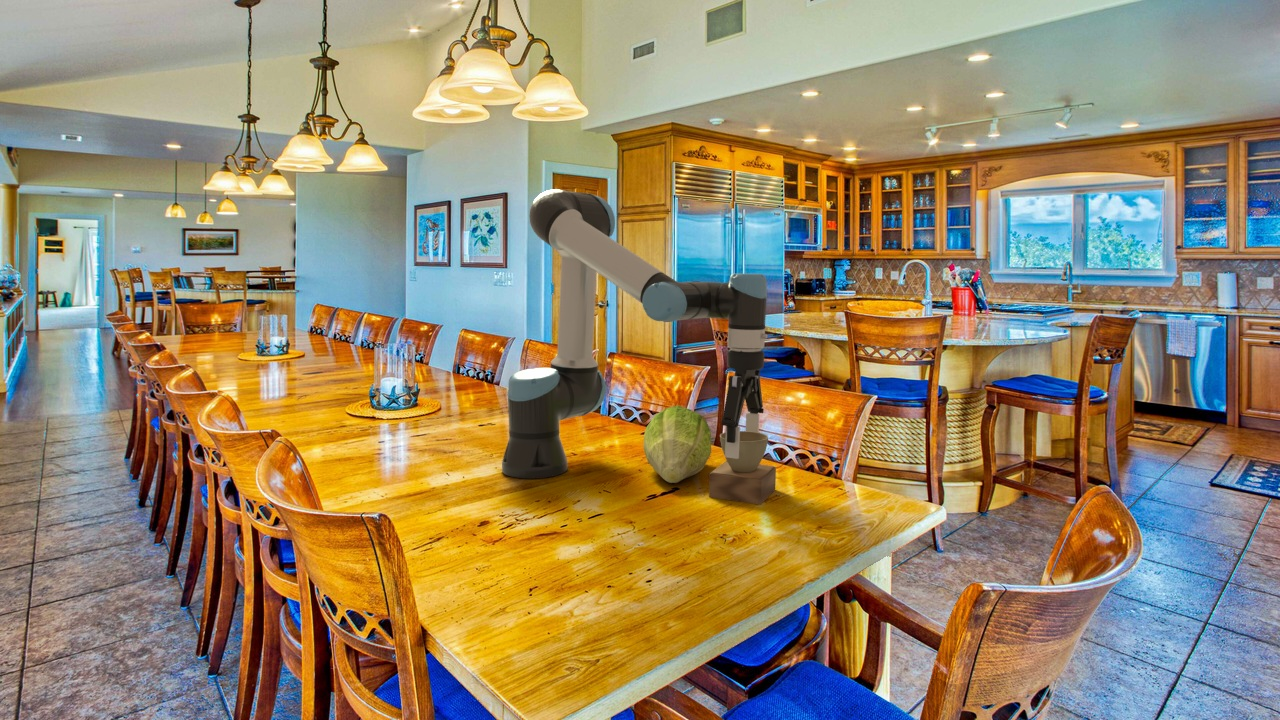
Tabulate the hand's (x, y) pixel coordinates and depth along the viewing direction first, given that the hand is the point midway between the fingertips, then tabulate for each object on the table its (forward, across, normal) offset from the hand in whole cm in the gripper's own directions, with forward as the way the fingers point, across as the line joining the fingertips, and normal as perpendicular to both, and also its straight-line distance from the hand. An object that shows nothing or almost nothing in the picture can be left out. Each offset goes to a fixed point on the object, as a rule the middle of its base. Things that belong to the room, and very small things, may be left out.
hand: (742, 450), depth 146 cm
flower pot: (+4, 0, 0) cm, 4 cm away
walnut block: (+9, 0, 0) cm, 9 cm away
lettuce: (+10, +7, +18) cm, 21 cm away
